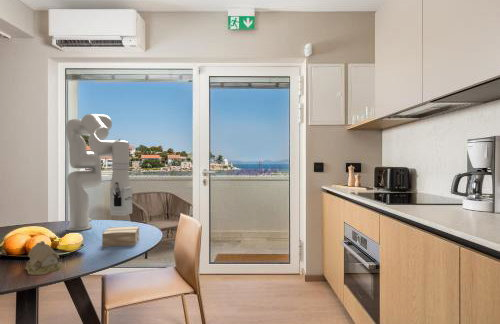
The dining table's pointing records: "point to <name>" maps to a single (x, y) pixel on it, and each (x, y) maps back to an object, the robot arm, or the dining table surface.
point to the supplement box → (122, 202)
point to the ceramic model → (42, 260)
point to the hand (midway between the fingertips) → (121, 204)
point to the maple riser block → (120, 236)
